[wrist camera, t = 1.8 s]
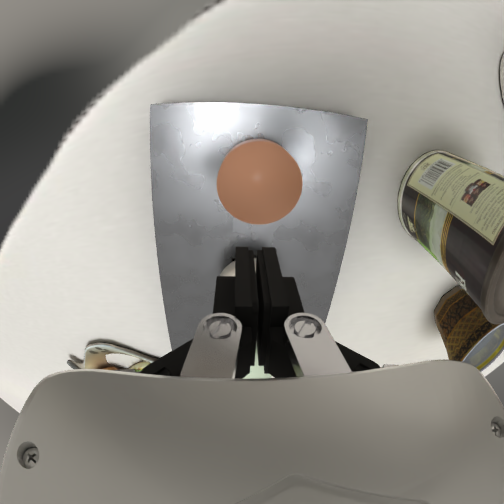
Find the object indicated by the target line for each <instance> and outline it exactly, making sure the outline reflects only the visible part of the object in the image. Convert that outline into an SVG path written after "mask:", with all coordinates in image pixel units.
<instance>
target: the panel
mask: <svg viewBox="0 0 504 504" xmlns="http://www.w3.org/2000/svg"><path fill="white" fill-rule="evenodd" d="M367 122H368V119H363V118H359V117H354V116H348V115H343V114H337V113H332V112H325V111H319V110H312V109H304V108H296V107H287V106H277V105H265V104H250V103H226V102H189V103H164V104H151V107H150V153H151V182H152V200H153V214H154V226H155V237H156V247H157V256H158V265H159V273H160V280H161V288H162V295H163V301H164V308H165V314H166V320H167V326H168V331H169V337H170V342H171V347H172V351H173V350H175V349H176V348H178V347H180V346H181V345H183V344H185V343H186V342H188V341H190V340H191V339H193V338H194V335H195V333H196V330H197V327H198V325H199V323H200V321H201V320H202V319H203V318H204V317H206V316H208V315H210V314H213V306H214V296H215V287H216V278H217V276H220V274H221V273H222V271H223V270H224V268H225V267H226V266H228V265H229V264H230V263H232V258H235V252H236V247H248V250H253V252H254V258H257V250H262V247H275V249H276V253H277V257H278V261H279V265H280V269H281V273H282V277H294V279H295V282H296V285H297V289H298V292H299V295H300V299H301V302H302V305H303V309H304V312H305V313H309V314H313V315H315V316H317V317H319V318H320V319H322V321H323V322H324V323H325V322H326V319H327V315H328V312H329V308H330V305H331V301H332V298H333V294H334V290H335V287H336V283H337V279H338V275H339V271H340V267H341V263H342V259H343V255H344V251H345V247H346V242H347V238H348V233H349V229H350V224H351V219H352V215H353V210H354V205H355V199H356V194H357V189H358V183H359V177H360V171H361V165H362V159H363V152H364V145H365V138H366V130H367ZM250 139H267V140H270V141H273V142H275V143H277V144H279V145H280V146H282V147H283V148H284V149H285V150H286V151H287V152H288V153H289V154H290V155H291V156H292V157H293V158H294V160H295V161H296V162H297V164H298V166H299V168H300V171H301V175H302V182H303V184H302V192H301V195H300V198H299V200H298V202H297V204H296V206H295V207H294V208H293V210H292V211H291V212H290V213H289V214H287V215H286V216H285V217H283V218H282V219H280V220H278V221H275V222H273V223H269V224H260V225H257V224H250V223H246V222H243V221H241V220H239V219H237V218H235V217H234V216H232V215H231V214H230V213H229V212H228V211H227V210H226V209H225V208H224V206H223V205H222V203H221V201H220V199H219V196H218V192H217V176H218V172H219V170H220V167H221V164H222V162H223V160H224V158H225V156H226V155H227V153H228V152H229V151H230V150H231V149H232V148H233V147H235V146H236V145H237V144H239V143H241V142H243V141H246V140H250ZM256 341H257V340H256Z"/></svg>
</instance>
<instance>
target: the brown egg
mask: <svg viewBox="0 0 504 504" xmlns="http://www.w3.org/2000/svg"><path fill="white" fill-rule="evenodd" d="M302 184H303V182H302V175H301V171H300V168H299V166H298V164H297V162H296V161H295V160H294V158H293V157H292V156H291V155H290V154H289V153H288V152H287V151H286V150H285V149H284V148H283V147H282V146H280V145H279V144H277V143H275V142H273V141H270V140H267V139H250V140H246V141H243V142H241V143H239V144H237V145H236V146H235V147H233V148H232V149H231V150H230V151H229V152H228V153H227V155H226V156H225V158H224V160H223V162H222V164H221V167H220V170H219V172H218V176H217V192H218V196H219V199H220V201H221V203H222V205H223V206H224V208H225V209H226V210H227V211H228V212H229V213H230V214H231V215H232V216H234V217H235V218H237V219H239V220H241V221H243V222H246V223H250V224H257V225H260V224H269V223H273V222H275V221H278V220H280V219H282V218H283V217H285V216H286V215H287V214H289V213H290V212H291V211H292V210H293V208H294V207H295V206H296V204H297V202H298V200H299V198H300V195H301V192H302Z"/></svg>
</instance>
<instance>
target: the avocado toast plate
mask: <svg viewBox="0 0 504 504" xmlns="http://www.w3.org/2000/svg"><path fill="white" fill-rule="evenodd" d="M111 353H120V354H125V355H130V356H133V357H136V358H139V359H142V360H143V362H139V363H137V364H135V365H133V366H132V367H129V368H122V367H117V366H116V365H112V364H109V363H108V362H107V360H106V356H105V355H106V354H111ZM156 360H157V358H153V357H149V356H147V355H144V354H141V353H138V352H136V351H133V350H129V349H126V348H122V347H119V346H115V345H112V344H108V343H94V344H89V345H87V346H86V348H85V355H84V362H83V363H77V362H74V361H72V360H68V361H67V364H68V365H69V366H70V367H71V368H73V369H104V370H122V369H134V370H135V372H138V371H142V369H143V368H145V367H146V366H147V365H149V364H150V363H152V362H154V361H156Z"/></svg>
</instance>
